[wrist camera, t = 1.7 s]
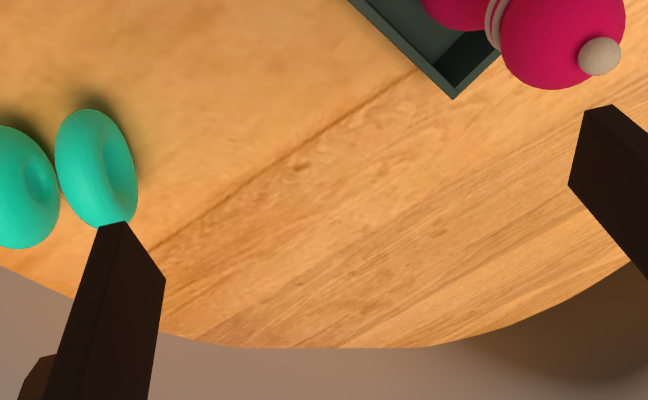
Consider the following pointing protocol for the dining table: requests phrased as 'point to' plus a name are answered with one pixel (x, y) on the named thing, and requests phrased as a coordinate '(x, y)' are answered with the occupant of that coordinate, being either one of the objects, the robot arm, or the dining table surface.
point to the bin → (431, 42)
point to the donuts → (65, 178)
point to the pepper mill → (543, 35)
